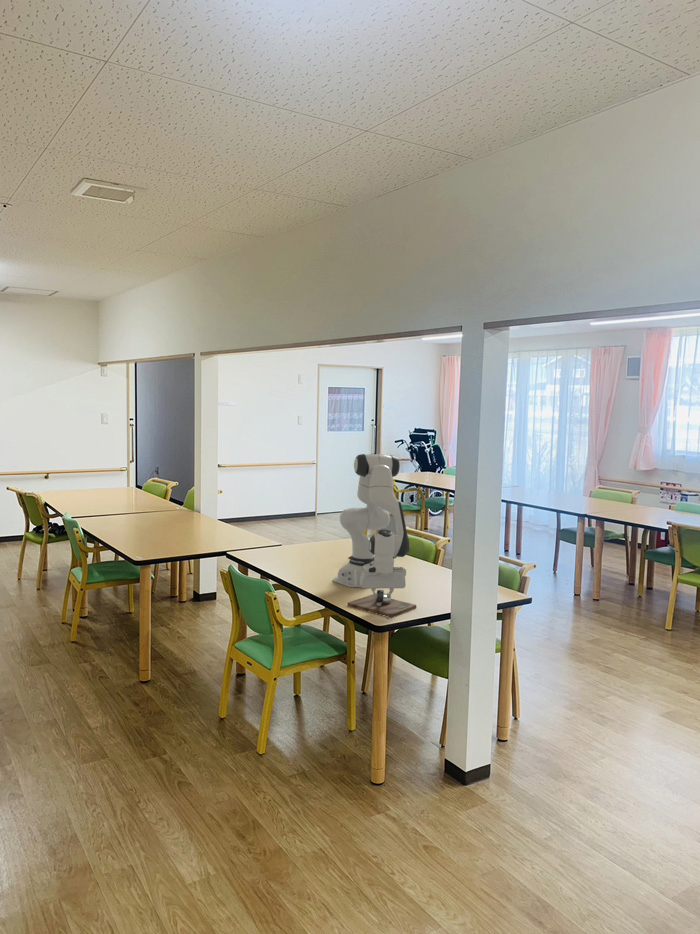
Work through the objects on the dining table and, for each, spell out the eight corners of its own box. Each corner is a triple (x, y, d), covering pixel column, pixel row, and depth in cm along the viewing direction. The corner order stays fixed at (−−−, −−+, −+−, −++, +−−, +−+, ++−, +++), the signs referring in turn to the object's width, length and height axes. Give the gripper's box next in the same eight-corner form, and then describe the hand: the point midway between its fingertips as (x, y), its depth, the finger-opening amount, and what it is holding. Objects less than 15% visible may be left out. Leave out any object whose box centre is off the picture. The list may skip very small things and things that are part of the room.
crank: (376, 598, 317) (377, 583, 317) (391, 600, 316) (392, 585, 315) (370, 607, 304) (371, 591, 303) (386, 609, 302) (387, 593, 302)
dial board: (347, 605, 311) (347, 602, 310) (373, 597, 326) (373, 593, 326) (391, 617, 296) (391, 614, 296) (416, 608, 312) (416, 604, 312)
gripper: (404, 565, 309) (402, 595, 310) (359, 565, 305) (358, 596, 306) (408, 568, 303) (406, 599, 304) (362, 569, 299) (361, 600, 300)
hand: (382, 597), depth 305 cm, fingers open, 5 cm apart
